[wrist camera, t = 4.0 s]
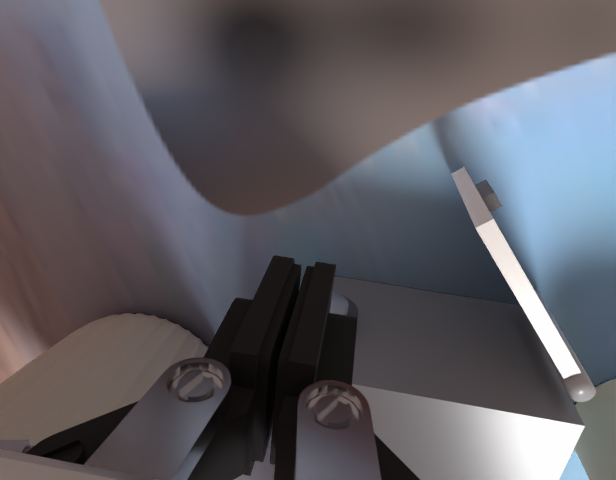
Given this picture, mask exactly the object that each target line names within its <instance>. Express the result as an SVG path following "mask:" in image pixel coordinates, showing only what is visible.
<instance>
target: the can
mask: <svg viewBox="0 0 616 480" xmlns="http://www.w3.org/2000/svg"><path fill="white" fill-rule="evenodd" d="M595 389H596V394H595V396H594V397H593V398H592V399H590V400H588V401H585V402H577V403H576V404H575V407H576V409H577V411H578V413H579V415H580V417H581V419H582V421H583V423H584V425H585V427H584V429H583V431H582V433H581V435H580V437H579V439H578V441H577V443H576V445H575V447H574V450H575V452H576V453H577V454H578V456H579V458H580V461H581V463H582V465H583V467H584V469H585V471H586V473H587V475H588V477H589V480H616V378H615V379H612V380H609V381H607V382H604V383H602V384H600V385H598V386H596V387H595Z"/></svg>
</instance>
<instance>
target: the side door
mask: <svg viewBox="0 0 616 480" xmlns="http://www.w3.org/2000/svg"><path fill="white" fill-rule="evenodd" d="M451 175H452V177H453V179H454V181H455V184H456V186H457V188H458V190H459V193H460V195H461V197H462V199H463V202H464V204H465V206H466V208H467V210H468V213H469V215H470V217H471V219H472V222H473V224H474V226H475V228H476V230H477V232H478V233H479V235H480V237H481V238H482V240H483V242H484V244H485V245H486V247H487V249H488V250H489V252H490V254H491V255H492V257H493V259H494V261H495V262H496V264H497V266H498V267H499V269H500V271H501V273H502V274H503V276H504V278H505V279H506V281H507V283H508V284H509V286H510V288H511V290H512V291H513V293H514V295H515V296H516V298H517V300H518V302H519V303H520V305H521V307H522V308H523V310H524V312H525V313H526V315H527V317H528V319H529V320H530V322H531V324H532V325H533V327H534V329H535V330H536V332H537V334H538V336H539V338H540V340H541V342H542V344H543V346H544V348H545V350H546V352H547V354H548V356H549V358H550V360H551V362H552V364H553V366H554V368H555V370H556V372H557V374H558V376H559V378H560V380H561V382H562V384H563V386H564V388H565V390H566V392H567V394H568V396H569V398H570V399H572V400H573V401H576V402H585V401H588V400H590V399H592V398H593V397H594V396H595V394H596V389H595V387H594V385H593V383H592V382H591V380H590V378H589V377H588V375H587V373H586V371H585V370H584V368H583V366H582V365H581V363H580V361H579V359H578V358H577V356H576V354H575V352H574V351H573V349H572V347H571V346H570V344H569V342H568V340H567V339H566V337H565V335H564V334H563V332H562V330H561V328H560V327H559V325H558V323H557V322H556V320H555V318H554V316H553V315H552V313H551V311H550V310H549V308H548V306H547V304H546V303H545V301H544V299H543V298H542V296H541V294H540V293H539V292H538V291H537V290H534V289H533V287H532V285H531V283H530V282H529V280H528V278H527V276H526V275H525V273H524V271H523V269H522V268H521V266H520V264H519V262H518V261H517V259H516V257H515V255H514V254H513V252H512V250H511V248H510V247H509V245H508V243H507V241H506V239H505V238H504V236H503V234H502V232H501V231H500V229H499V227H498V225H497V224H496V222H495V220H494V218H493V217H492V215H491V213H490V212H491V211H493V210H495V209H497V208H499V207H501V206H502V205H501V203H500V202H499V200H498V198H497V196H496V194H495V193H494V191H493V190H492V188H491V187H490V185H489V184H488V182H487V181H486V180H484V181H483V182H481V183H479V184H477V185H474V183H473V182H472V180H471V178H470V176H469V174H468V173H467V171H466V169H465V167H462V168H461V169H459V170H457V171H455V172H453V173H452V174H451Z"/></svg>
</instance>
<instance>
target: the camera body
mask: <svg viewBox="0 0 616 480" xmlns="http://www.w3.org/2000/svg"><path fill="white" fill-rule="evenodd" d="M330 313H334V314H340V315H347V316H353V317H357V331H356V343H355V354H354V366H353V378H352V386H353V387H355V388H356V389H357V390H359V391H360V392H361V393H362V394H363V395H364V397H365V398H366V399H367V401H368V404H369V407H370V411H371V417H372V424H373V430H374V433H375V434H376V435H377V436H378V437H379V438H380V439H381V440H382V441H383V443H384V444H385V445H386V446H387V447H388V448H389V449H390V450H391V451H392V452H393V453H394V454H395V455H396V456H397V457H398V458H399V459H400V460H401V461H402V462H403V463H404V464H405V465H406V466H407V467H408V468H409V469H410V470H411V471H412V472H413V473H414V474H415V475H416V476H417V477H418V478H419V479H420V480H559V478H560V476H561V474H562V472H563V470H564V468H565V466H566V464H567V462H568V460H569V458H570V456H571V454H572V452H573V450H574V447H575V445H576V443H577V441H578V439H579V437H580V435H581V433H582V431H583V429H584V427H585V425H584V423H583V421H582V419H581V417H580V415H579V413H578V411H577V409H576V407H575V405H574V403H573V401H572V399H570V398H569V396H568V394H567V392H566V390H565V388H564V386H563V384H562V382H561V380H560V378H559V376H558V374H557V372H556V370H555V368H554V366H553V364H552V362H551V360H550V358H549V356H548V354H547V352H546V350H545V348H544V346H543V344H542V342H541V340H540V338H539V336H538V334H537V332H536V330H535V329H534V327H533V325H532V324H531V322H530V320H529V319H528V317H527V315H526V313H525V312H524V310H523V308H522V307H521V305H515V304H508V303H502V302H496V301H490V300H483V299H477V298H471V297H464V296H458V295H452V294H445V293H439V292H433V291H426V290H420V289H414V288H408V287H401V286H395V285H389V284H382V283H376V282H370V281H363V280H357V279H351V278H344V277H338V276H335V277H334V284H333V291H332V299H331V306H330ZM274 469H275V464H274ZM273 480H274V470H273Z"/></svg>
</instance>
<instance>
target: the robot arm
mask: <svg viewBox="0 0 616 480" xmlns="http://www.w3.org/2000/svg"><path fill="white" fill-rule="evenodd" d="M335 269H336V265H333V264H327V263H320V262H316V263H315V266H314V267H311V266H307V268H306V271H305V274H304V277H303V281H302V284H301V287H300V290H299V286H300V276H301V265H298V264H294V258H287V257H281V256H273V258H272V260H271V262H270V264H269V267H268V269H267V271H266V273H265V275H264V277H263V279H262V282H261V284H260V286H259V288H258V290H257V292H256V295H255V297H254V299H253V300H248V299H242V298H235V300H234V301H233V303H232V305H231V307H230V308H229V310H228V312H227V314H226V316H225V318H224V320H223V322H222V323H221V325H220V327H219V329H218V331H217V333H216V335H215V337H214V338H213V340H212V342H211V344H210V346H209V348H208V350H207V352H206V354H205V355H204V357H197V358H189V359H185V360H181V361H179V362H177V363H175V364H173V365H171V366H170V367H169V368H168V369H167V370H166V371H164V373H163V374H162V375H161V376H160V377H159V378H158V380H157V381H156V382H155V383H154V384H153V385H152V386H151V388H150V389H149V390H148V391H147V392H146V393H145V395H144V396H143V397H142V398H141V399H140V400H139V401H137V402H134V403H132V404H129V405H127V406H124V407H122V408H119V409H117V410H114V411H112V412H109V413H106V414H104V415H101V416H99V417H96V418H94V419H91V420H89V421H86V422H84V423H81V424H79V425H76V426H73V427H71V428H68V429H66V430H63V431H61V432H58V433H56V434H53V435H51V436H49V437H47V438H45V439H44V440H42V441H40V442H39V443H37V444H36V445H33V446H30V443H29V439H27V440H0V480H233V479H235V478H237V477H239V476H241V475H242V474H244V475H249V476H250V475H251V472H252V469H253V465H254V462H255V461H260V462H263V460H264V457H265V454H266V450H267V446H268V443H269V439H270V435H271V431H272V441H271V454H270V463H271V464H275V469H274V480H420V479H419V478H418V477H417V476H416V475H415V474H414V473H413V472H412V471H411V470H410V469H409V468H408V467H407V466H406V465H405V464H404V463H403V462H402V461H401V460H400V459H399V458H398V457H397V456H396V455H395V454H394V453H393V452H392V451H391V450H390V449H389V448H388V447H387V446H386V445H385V444H384V443H383V441H382V440H381V439H380V438H379V437H378V436H377V435H376V434H375V433H374V430H373V424H372V417H371V411H370V407H369V404H368V401H367V399H366V398H365V397H364V395H363V394H362V393H361V392H360V391H359V390H357V389H356V388H355V387H353V386H352V378H353V366H354V354H355V343H356V331H357V317H353V316H347V315H340V314H334V313H330V306H331V299H332V291H333V284H334V277H335ZM272 428H273V429H272Z"/></svg>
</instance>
